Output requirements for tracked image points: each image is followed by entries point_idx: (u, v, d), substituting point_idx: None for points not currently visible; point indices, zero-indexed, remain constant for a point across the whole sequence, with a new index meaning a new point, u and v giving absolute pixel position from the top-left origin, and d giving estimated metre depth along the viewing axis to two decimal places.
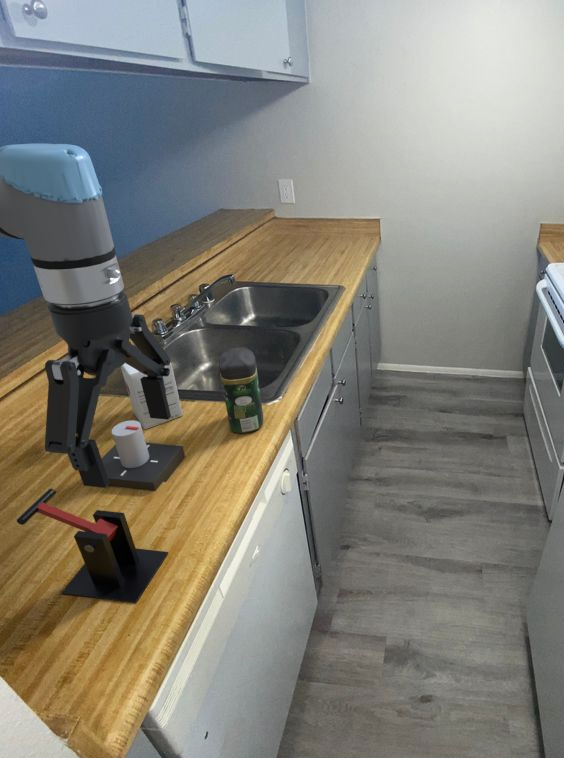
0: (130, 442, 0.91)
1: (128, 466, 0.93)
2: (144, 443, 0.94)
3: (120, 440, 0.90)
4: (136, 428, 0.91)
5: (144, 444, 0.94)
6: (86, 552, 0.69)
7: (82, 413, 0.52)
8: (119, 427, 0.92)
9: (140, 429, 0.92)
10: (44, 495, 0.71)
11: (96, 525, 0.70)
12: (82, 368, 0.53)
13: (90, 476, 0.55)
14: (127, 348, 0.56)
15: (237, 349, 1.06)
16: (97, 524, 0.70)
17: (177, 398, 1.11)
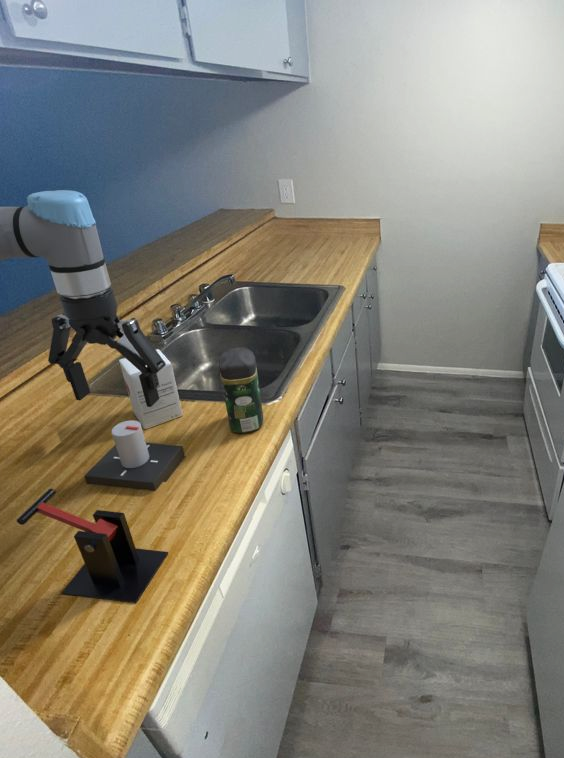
0: (130, 442, 0.91)
1: (128, 466, 0.93)
2: (144, 443, 0.94)
3: (120, 440, 0.90)
4: (136, 428, 0.91)
5: (144, 444, 0.94)
6: (86, 552, 0.69)
7: None
8: (119, 427, 0.92)
9: (140, 429, 0.92)
10: (44, 495, 0.71)
11: (96, 525, 0.70)
12: (113, 334, 0.80)
13: (153, 395, 0.85)
14: None
15: (237, 349, 1.06)
16: (97, 524, 0.70)
17: (177, 398, 1.11)
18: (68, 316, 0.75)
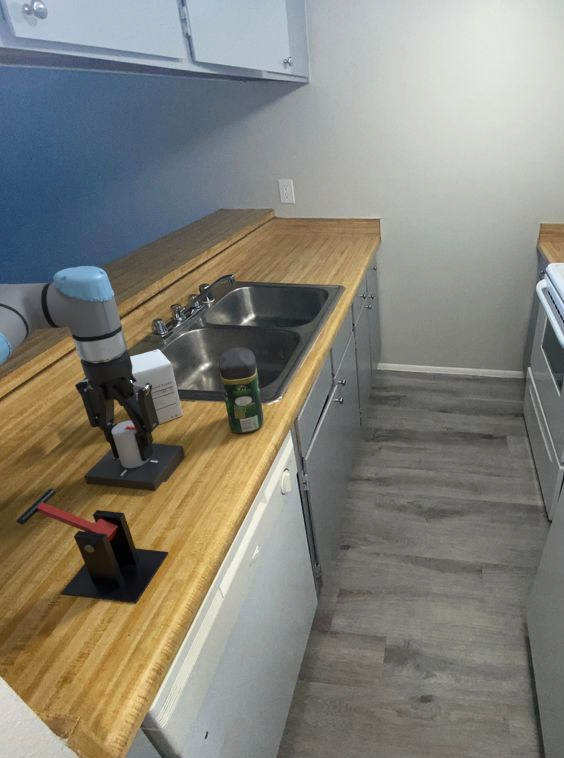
0: (130, 442, 0.91)
1: (128, 466, 0.93)
2: None
3: (120, 440, 0.90)
4: None
5: None
6: (86, 552, 0.69)
7: None
8: (119, 427, 0.92)
9: None
10: (44, 495, 0.71)
11: (96, 525, 0.70)
12: None
13: (147, 451, 0.94)
14: None
15: (237, 349, 1.06)
16: (97, 524, 0.70)
17: (177, 398, 1.11)
18: (88, 378, 0.82)
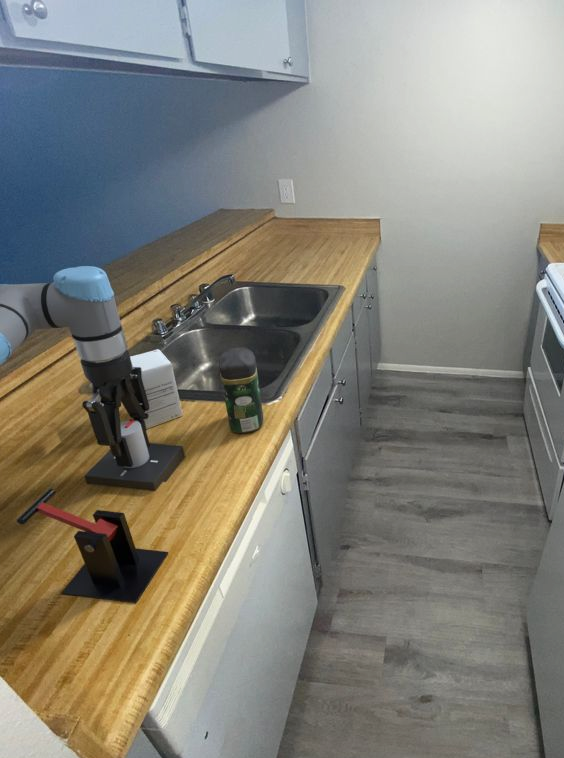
0: (142, 431, 0.94)
1: (147, 458, 0.95)
2: None
3: (140, 433, 0.92)
4: (133, 420, 0.93)
5: None
6: (86, 552, 0.69)
7: None
8: (121, 432, 0.90)
9: None
10: (44, 495, 0.71)
11: (96, 525, 0.70)
12: None
13: None
14: None
15: (237, 349, 1.06)
16: (97, 524, 0.70)
17: (177, 398, 1.11)
18: (122, 374, 0.84)
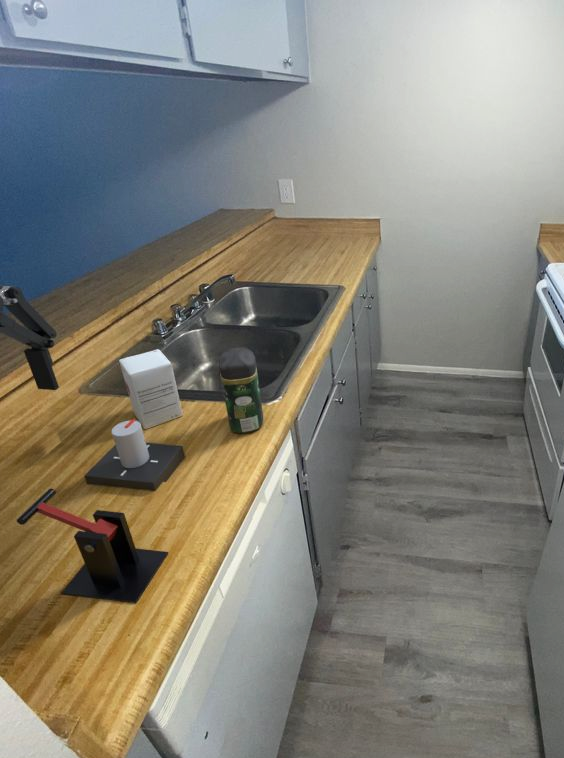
0: (142, 431, 0.94)
1: (147, 458, 0.95)
2: None
3: (140, 433, 0.92)
4: (133, 420, 0.93)
5: None
6: (86, 552, 0.69)
7: None
8: (121, 432, 0.90)
9: None
10: (44, 495, 0.71)
11: (96, 525, 0.70)
12: None
13: None
14: None
15: (237, 349, 1.06)
16: (97, 524, 0.70)
17: (177, 398, 1.11)
18: None
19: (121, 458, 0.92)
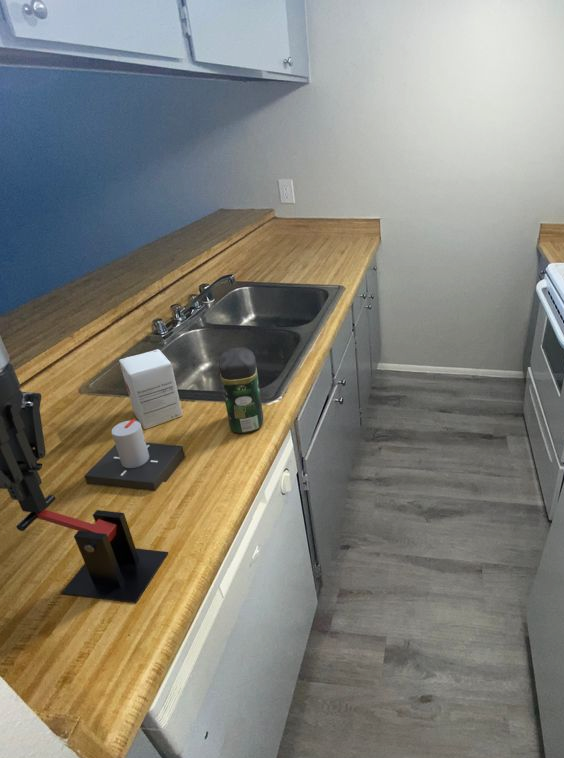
0: (142, 431, 0.94)
1: (147, 458, 0.95)
2: None
3: (140, 433, 0.92)
4: (133, 420, 0.93)
5: None
6: (86, 552, 0.69)
7: None
8: (121, 432, 0.90)
9: None
10: None
11: (95, 525, 0.70)
12: (18, 406, 0.65)
13: None
14: None
15: (237, 349, 1.06)
16: (96, 524, 0.70)
17: (177, 398, 1.11)
18: (0, 399, 0.59)
19: (121, 458, 0.92)
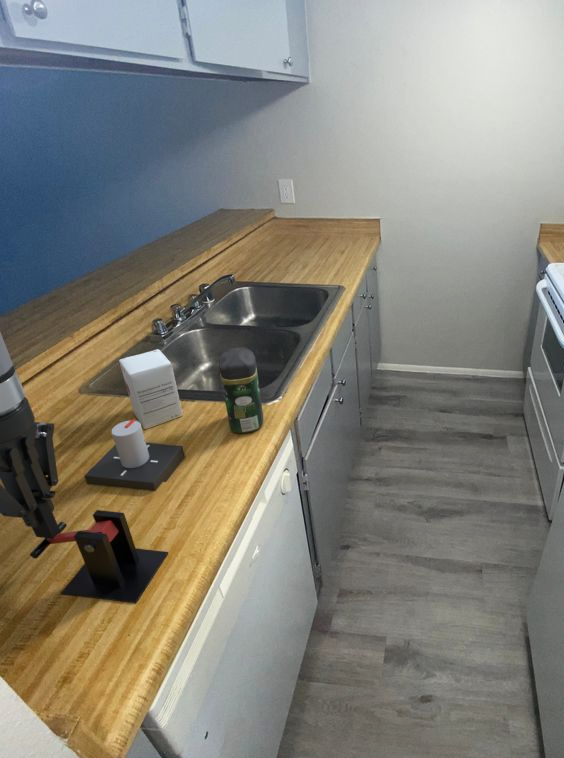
0: (142, 431, 0.94)
1: (147, 458, 0.95)
2: None
3: (140, 433, 0.92)
4: (133, 420, 0.93)
5: None
6: (86, 552, 0.69)
7: None
8: (121, 432, 0.90)
9: None
10: None
11: (91, 528, 0.71)
12: (32, 437, 0.68)
13: None
14: None
15: (237, 349, 1.06)
16: (92, 527, 0.71)
17: (177, 398, 1.11)
18: (16, 434, 0.61)
19: (121, 458, 0.92)
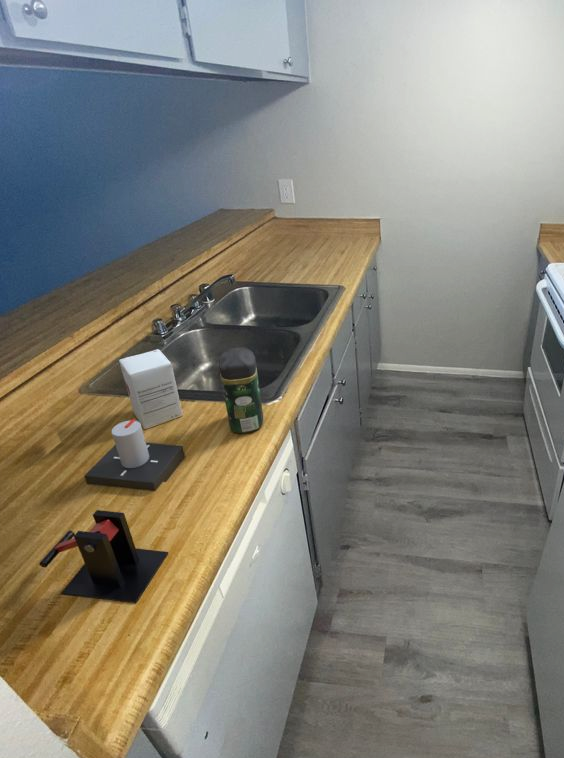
0: (142, 431, 0.94)
1: (147, 458, 0.95)
2: None
3: (140, 433, 0.92)
4: (133, 420, 0.93)
5: None
6: (86, 552, 0.69)
7: None
8: (121, 432, 0.90)
9: None
10: None
11: (91, 529, 0.71)
12: None
13: None
14: None
15: (237, 349, 1.06)
16: (92, 528, 0.71)
17: (177, 398, 1.11)
18: None
19: (121, 458, 0.92)
